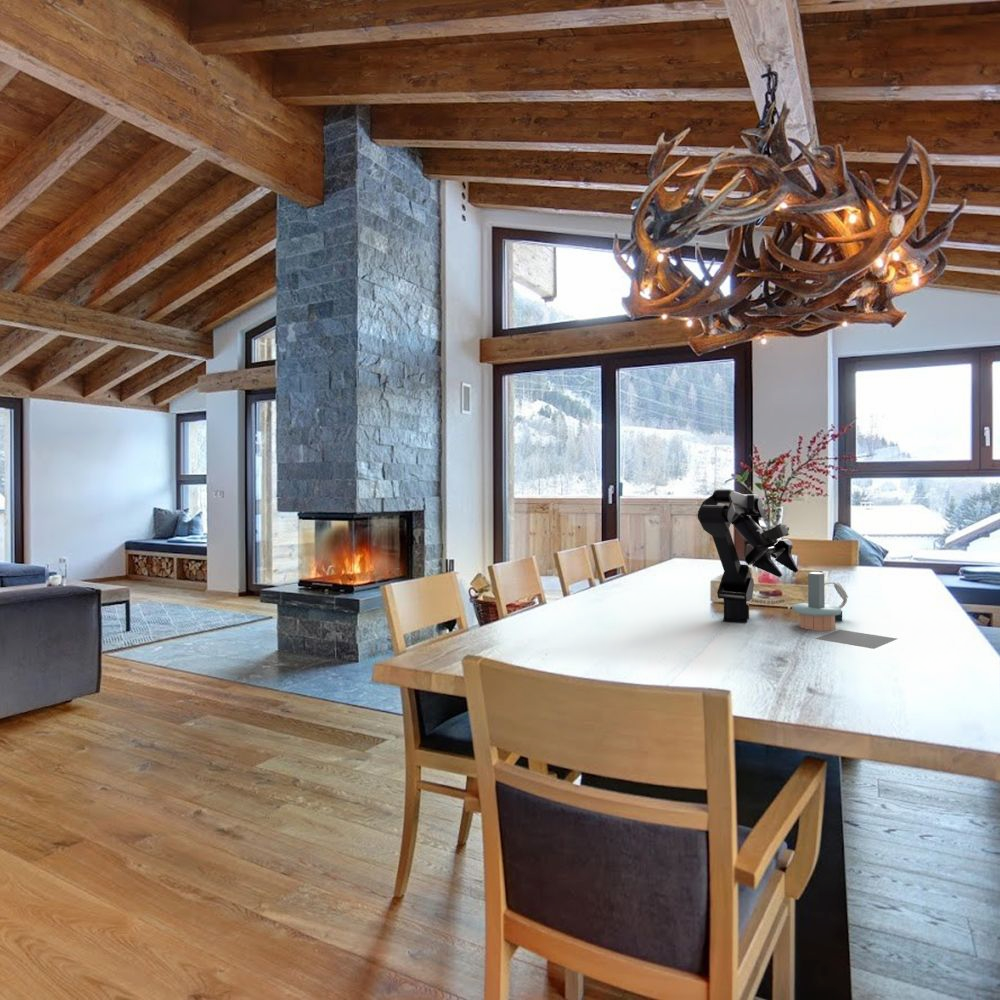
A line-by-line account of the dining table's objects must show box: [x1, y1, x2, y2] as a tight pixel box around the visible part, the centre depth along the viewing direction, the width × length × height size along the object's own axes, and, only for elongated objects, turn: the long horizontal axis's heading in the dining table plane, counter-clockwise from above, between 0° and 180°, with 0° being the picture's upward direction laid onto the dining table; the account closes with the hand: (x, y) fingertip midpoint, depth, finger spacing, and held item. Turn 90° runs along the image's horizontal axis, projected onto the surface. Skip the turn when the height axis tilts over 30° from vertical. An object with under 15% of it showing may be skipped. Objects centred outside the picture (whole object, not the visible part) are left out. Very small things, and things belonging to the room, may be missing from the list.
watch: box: [824, 580, 849, 622], centre depth 193 cm, size 6×8×11 cm
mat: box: [814, 629, 898, 650], centre depth 169 cm, size 14×14×1 cm
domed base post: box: [791, 571, 842, 616], centre depth 183 cm, size 12×12×10 cm
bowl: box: [798, 613, 836, 632], centre depth 183 cm, size 9×9×4 cm
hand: (789, 573), depth 193 cm, fingers open, 9 cm apart
